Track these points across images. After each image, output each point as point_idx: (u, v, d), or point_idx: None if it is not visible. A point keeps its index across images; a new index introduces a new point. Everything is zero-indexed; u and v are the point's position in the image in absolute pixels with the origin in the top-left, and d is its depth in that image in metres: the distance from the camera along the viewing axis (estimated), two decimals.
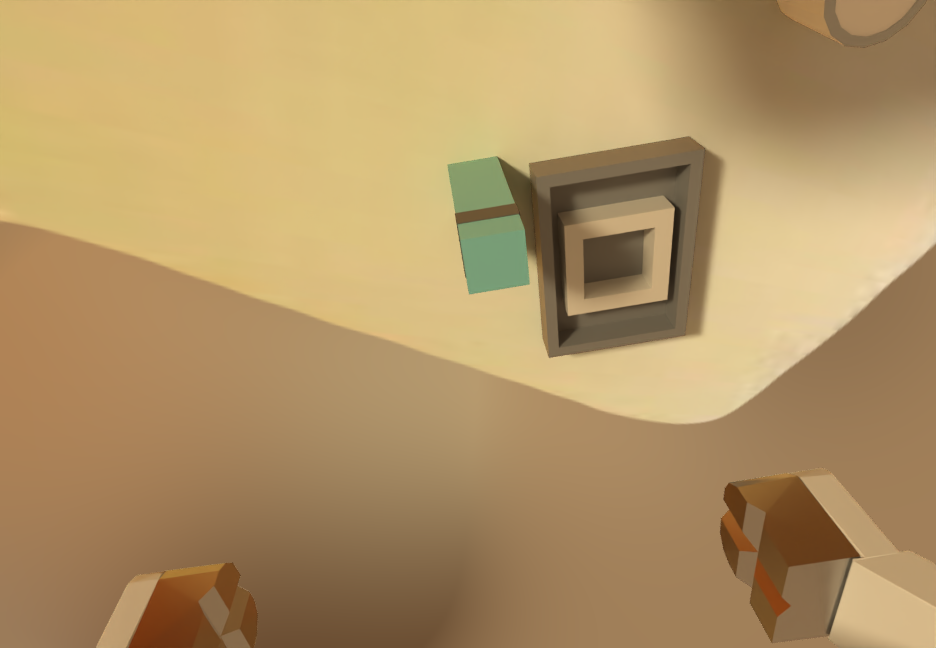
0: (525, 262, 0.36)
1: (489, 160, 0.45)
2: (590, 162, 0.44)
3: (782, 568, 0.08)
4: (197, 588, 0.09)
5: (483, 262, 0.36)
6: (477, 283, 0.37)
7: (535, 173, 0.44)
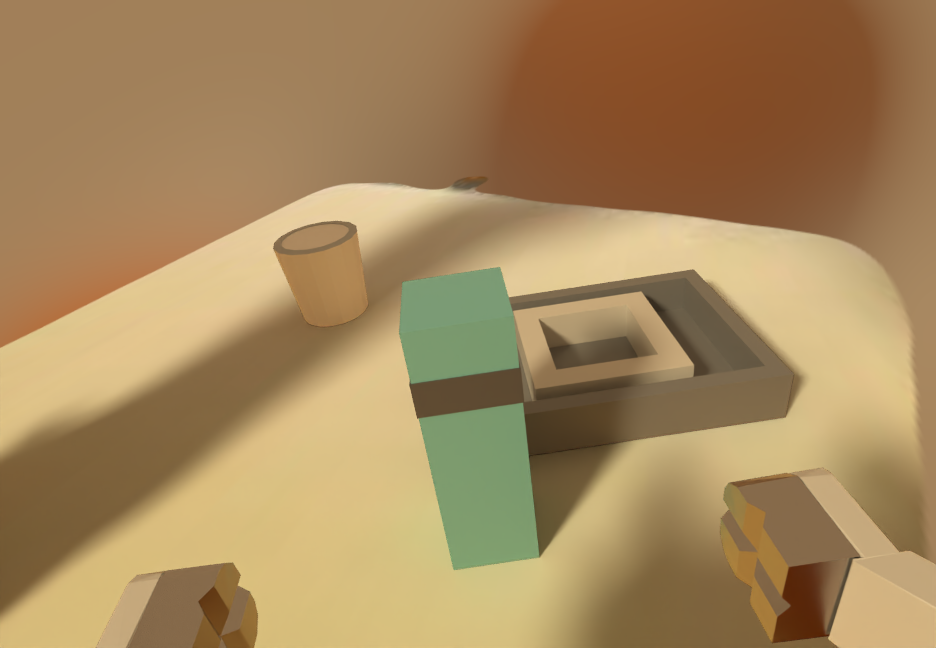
0: (459, 274, 0.23)
1: None
2: None
3: (782, 568, 0.08)
4: (197, 588, 0.09)
5: (449, 308, 0.21)
6: (491, 309, 0.20)
7: None
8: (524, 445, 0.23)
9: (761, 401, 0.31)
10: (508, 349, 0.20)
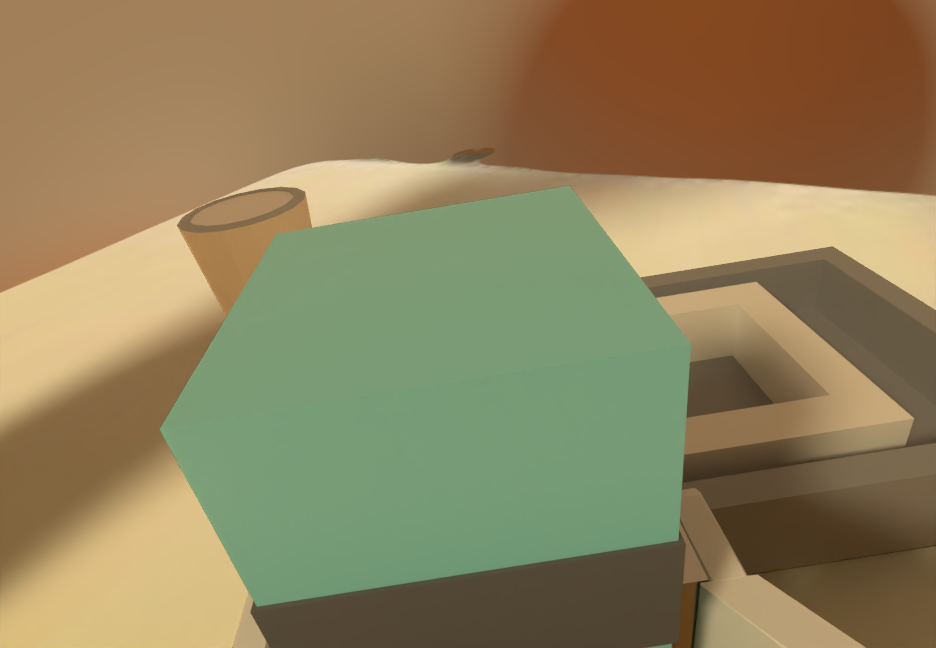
0: (446, 209, 0.08)
1: None
2: None
3: None
4: None
5: (403, 313, 0.05)
6: (575, 315, 0.05)
7: None
8: None
9: None
10: (646, 480, 0.05)
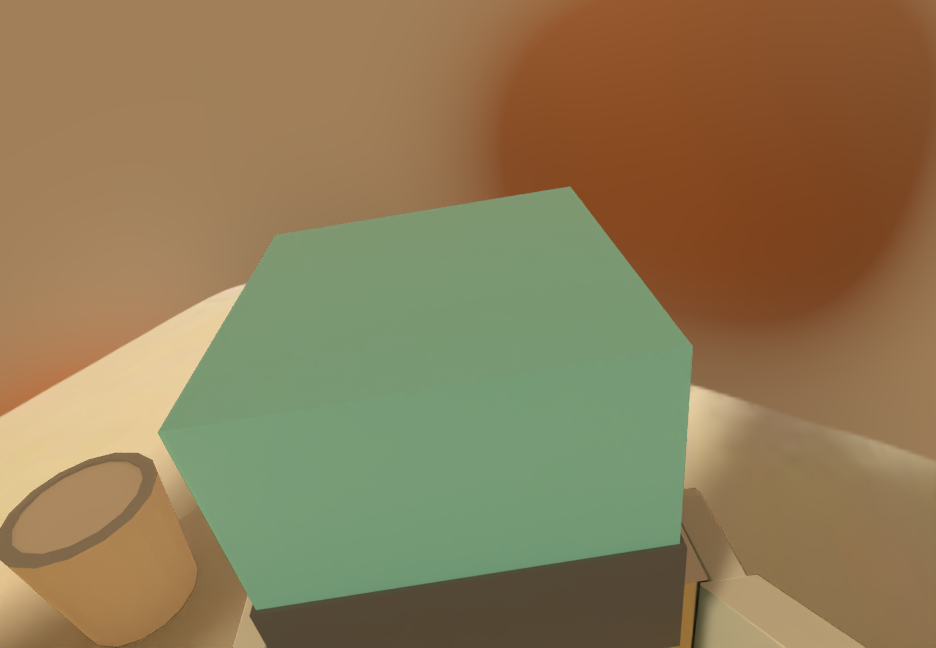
0: (446, 210, 0.08)
1: None
2: None
3: None
4: None
5: (403, 314, 0.05)
6: (577, 318, 0.05)
7: None
8: None
9: None
10: (647, 483, 0.05)
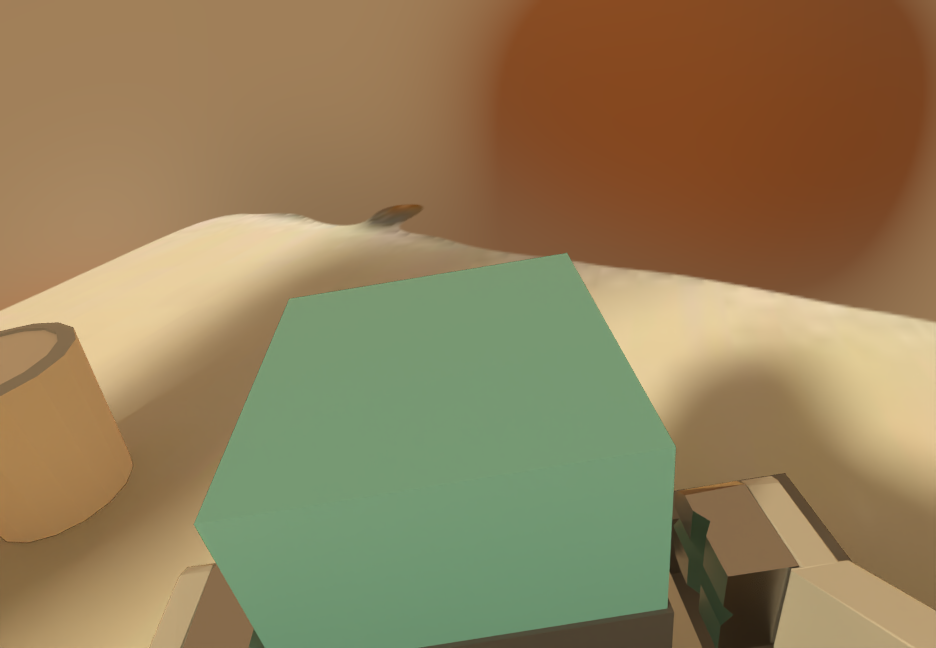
0: (450, 276, 0.08)
1: None
2: None
3: (723, 577, 0.08)
4: None
5: (413, 398, 0.06)
6: (571, 409, 0.05)
7: None
8: None
9: None
10: (637, 559, 0.05)
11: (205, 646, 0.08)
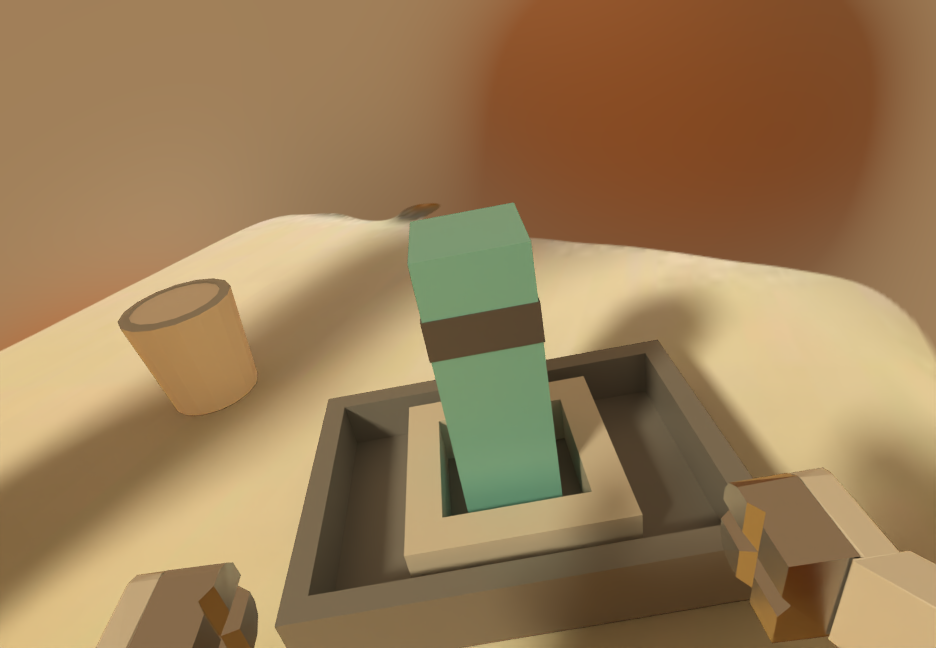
0: (470, 211, 0.22)
1: None
2: None
3: (782, 568, 0.08)
4: (197, 588, 0.09)
5: (461, 239, 0.19)
6: (506, 237, 0.19)
7: None
8: (546, 392, 0.21)
9: None
10: (526, 280, 0.19)
11: None
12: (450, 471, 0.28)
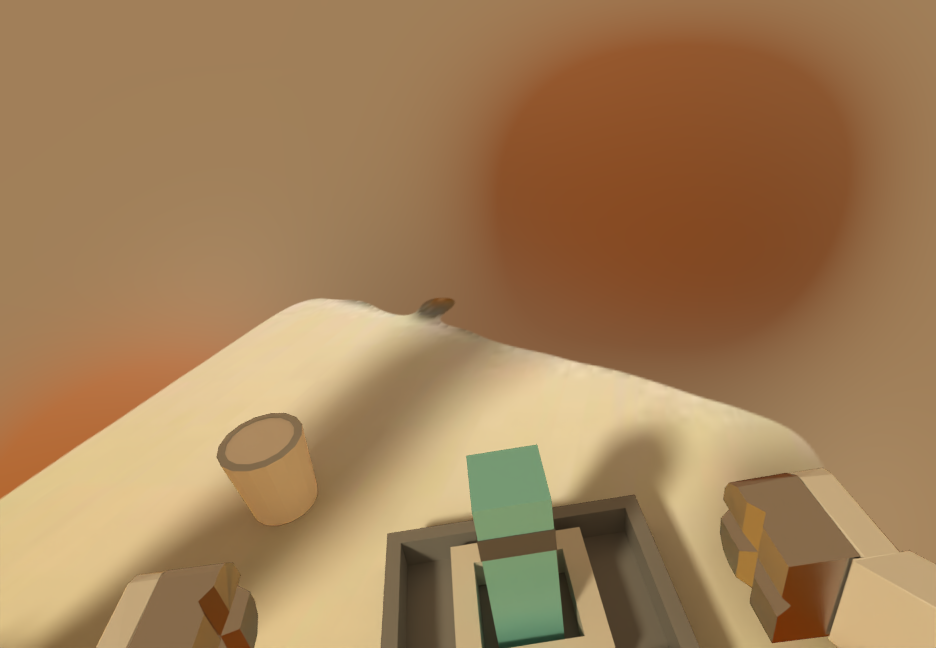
0: (507, 451, 0.32)
1: None
2: None
3: (782, 568, 0.08)
4: (197, 588, 0.09)
5: (504, 488, 0.30)
6: (535, 491, 0.29)
7: None
8: (556, 576, 0.32)
9: None
10: (547, 518, 0.29)
11: None
12: (480, 597, 0.39)
